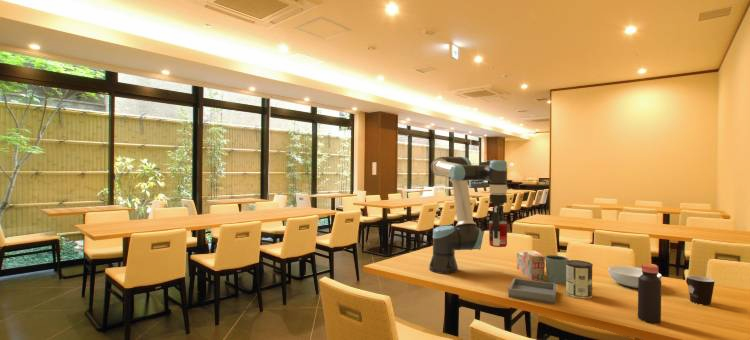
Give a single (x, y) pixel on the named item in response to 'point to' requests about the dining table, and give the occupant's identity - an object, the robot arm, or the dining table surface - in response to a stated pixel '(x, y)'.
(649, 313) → the bottle
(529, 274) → the white food box
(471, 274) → the dining table surface
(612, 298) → the dining table surface
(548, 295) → the tray
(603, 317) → the dining table surface
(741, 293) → the dining table surface
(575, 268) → the coffee can
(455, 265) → the robot arm
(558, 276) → the grey cylinder
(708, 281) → the coffee mug
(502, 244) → the canned food
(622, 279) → the serving bowl
